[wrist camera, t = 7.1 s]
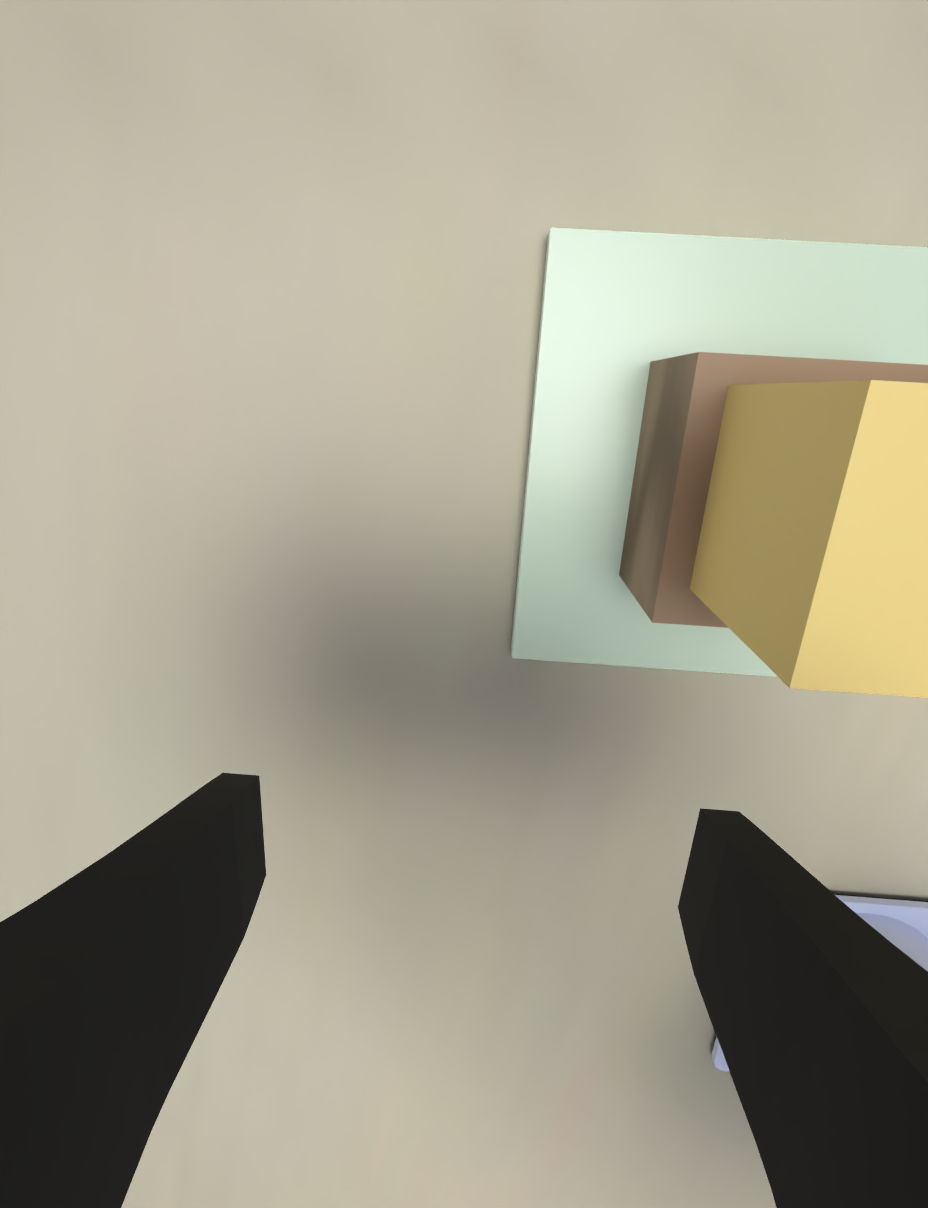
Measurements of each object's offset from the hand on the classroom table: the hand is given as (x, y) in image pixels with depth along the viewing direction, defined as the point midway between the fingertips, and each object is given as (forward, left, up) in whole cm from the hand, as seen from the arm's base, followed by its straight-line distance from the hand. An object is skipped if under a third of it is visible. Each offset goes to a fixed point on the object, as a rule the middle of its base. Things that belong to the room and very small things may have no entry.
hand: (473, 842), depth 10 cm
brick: (+5, -7, -6) cm, 10 cm away
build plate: (+5, -7, -10) cm, 13 cm away
